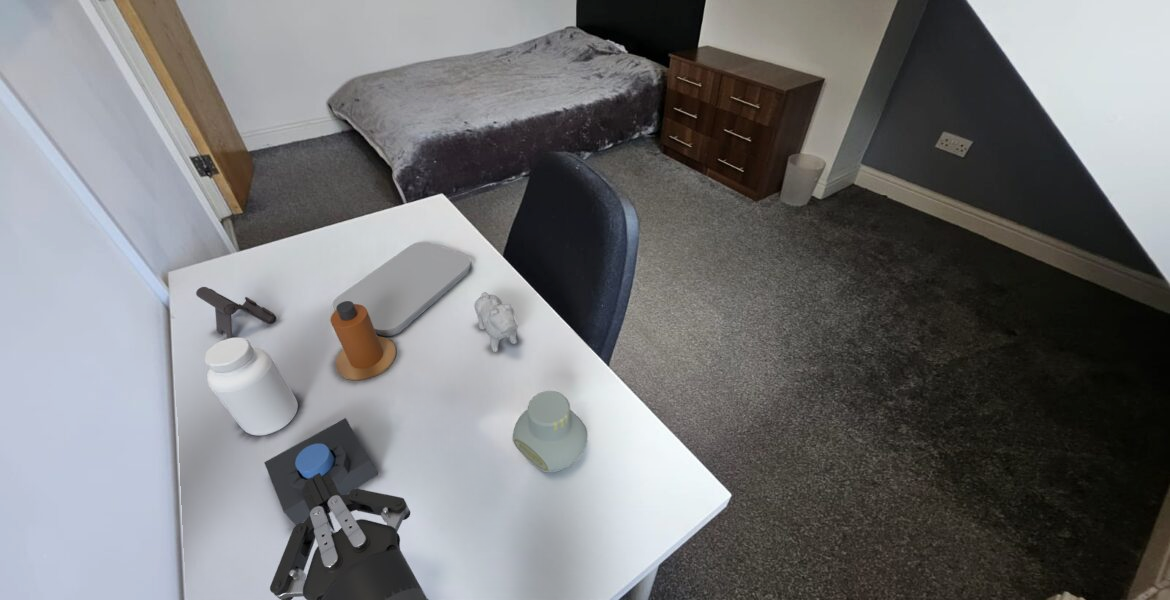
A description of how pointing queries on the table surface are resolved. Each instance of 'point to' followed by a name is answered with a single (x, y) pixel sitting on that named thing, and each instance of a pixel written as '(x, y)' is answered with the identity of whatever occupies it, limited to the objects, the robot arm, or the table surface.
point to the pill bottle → (250, 386)
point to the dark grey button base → (345, 473)
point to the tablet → (406, 285)
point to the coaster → (366, 373)
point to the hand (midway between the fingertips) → (314, 480)
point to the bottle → (356, 334)
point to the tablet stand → (232, 310)
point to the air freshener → (550, 432)
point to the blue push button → (314, 460)
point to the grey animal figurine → (496, 319)
